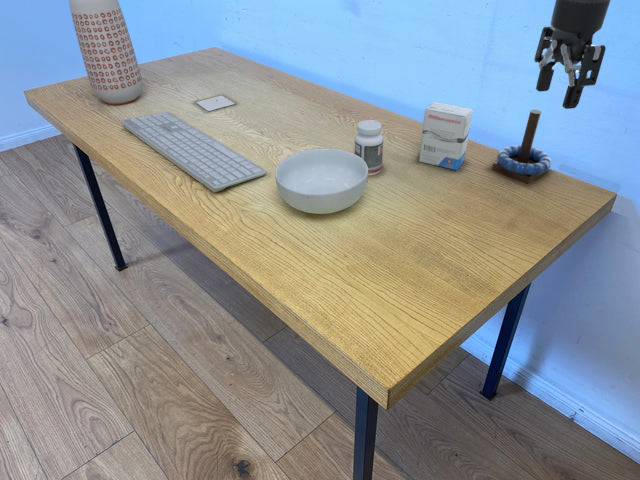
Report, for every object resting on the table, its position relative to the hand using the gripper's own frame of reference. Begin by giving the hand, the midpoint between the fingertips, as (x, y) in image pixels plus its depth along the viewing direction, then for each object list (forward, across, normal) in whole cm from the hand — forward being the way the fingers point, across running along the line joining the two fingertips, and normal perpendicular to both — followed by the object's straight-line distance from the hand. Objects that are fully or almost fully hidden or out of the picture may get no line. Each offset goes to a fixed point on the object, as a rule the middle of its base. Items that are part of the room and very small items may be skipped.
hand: (554, 98), depth 82 cm
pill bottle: (+17, +12, +30) cm, 36 cm away
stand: (+17, +6, -1) cm, 18 cm away
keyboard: (+17, +28, +68) cm, 75 cm away
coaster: (+16, +55, +62) cm, 85 cm away
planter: (+16, +64, +88) cm, 110 cm away
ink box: (+17, +12, +14) cm, 25 cm away
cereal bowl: (+17, +1, +41) cm, 45 cm away
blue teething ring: (+14, +5, 0) cm, 15 cm away
